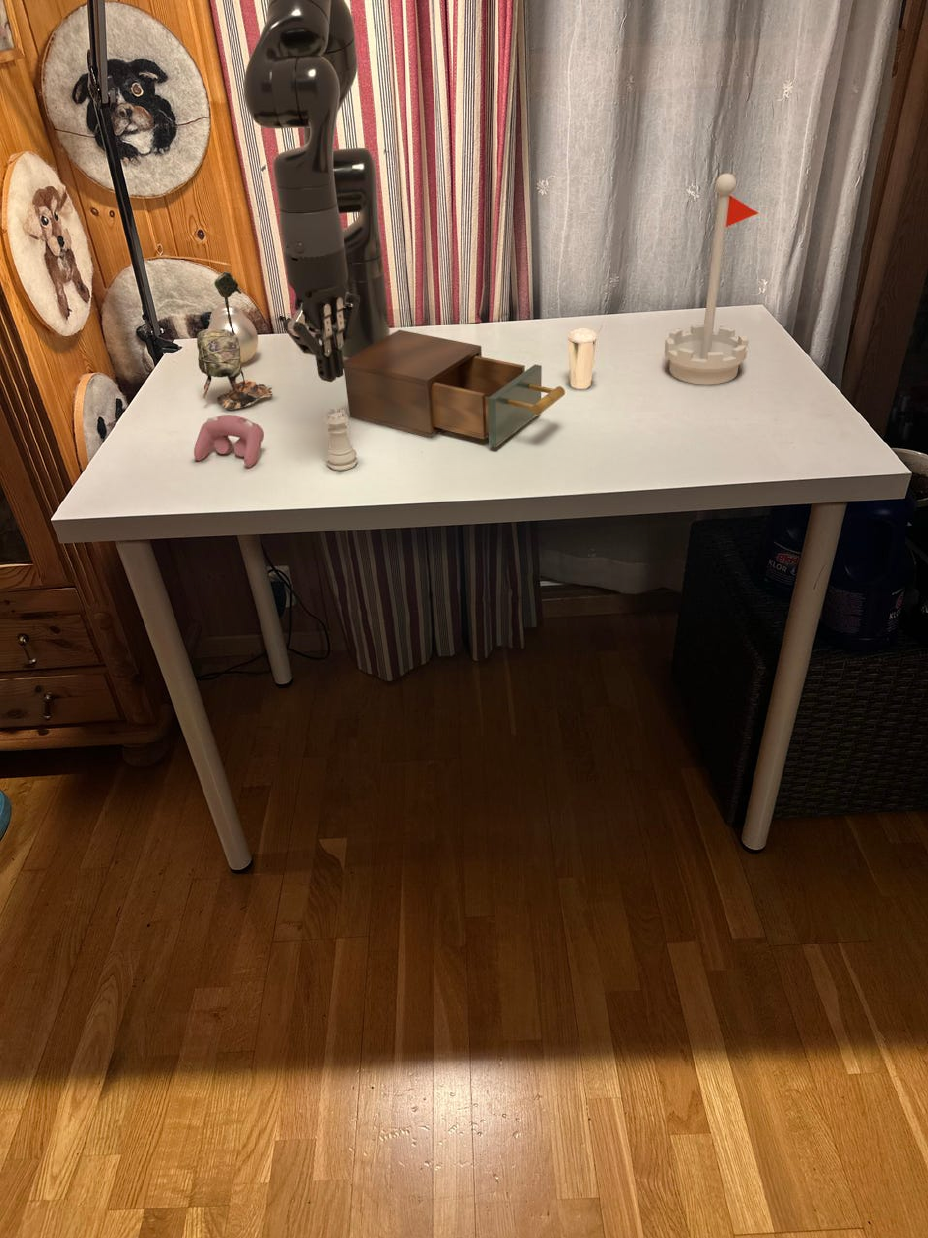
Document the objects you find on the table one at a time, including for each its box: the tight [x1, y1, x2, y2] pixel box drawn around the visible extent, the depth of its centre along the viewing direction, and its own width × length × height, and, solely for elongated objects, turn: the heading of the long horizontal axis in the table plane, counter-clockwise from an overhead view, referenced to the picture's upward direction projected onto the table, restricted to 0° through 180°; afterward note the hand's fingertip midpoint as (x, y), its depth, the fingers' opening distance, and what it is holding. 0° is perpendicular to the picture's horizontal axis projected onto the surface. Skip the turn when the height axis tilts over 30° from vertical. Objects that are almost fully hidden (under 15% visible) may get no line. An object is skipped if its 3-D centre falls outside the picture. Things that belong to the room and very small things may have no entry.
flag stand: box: [664, 173, 759, 386], centre depth 143 cm, size 13×13×30 cm
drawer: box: [431, 355, 566, 448], centre depth 136 cm, size 20×13×7 cm, turn 57°
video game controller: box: [193, 414, 265, 468], centre depth 134 cm, size 10×5×7 cm, turn 71°
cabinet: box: [343, 329, 483, 439], centre depth 143 cm, size 16×15×9 cm
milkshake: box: [567, 325, 603, 390], centre depth 147 cm, size 4×5×10 cm
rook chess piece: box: [324, 408, 359, 472], centre depth 130 cm, size 4×4×8 cm
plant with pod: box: [194, 270, 273, 411], centre depth 145 cm, size 8×11×20 cm
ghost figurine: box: [207, 303, 259, 365], centre depth 161 cm, size 9×10×10 cm
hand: (331, 377), depth 124 cm, fingers closed
